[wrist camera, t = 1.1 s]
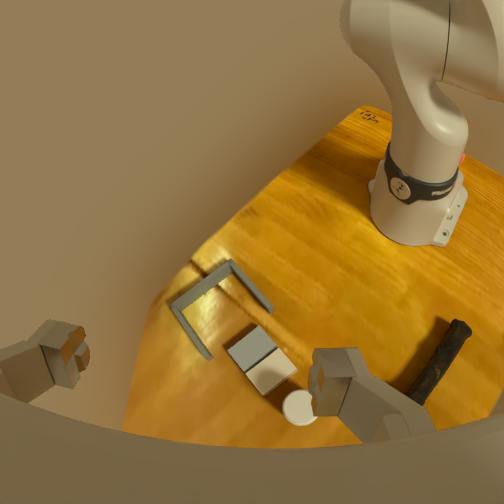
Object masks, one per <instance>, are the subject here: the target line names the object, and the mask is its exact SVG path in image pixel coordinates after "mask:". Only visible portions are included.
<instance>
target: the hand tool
mask: <svg viewBox="0 0 504 504" xmlns="http://www.w3.org/2000/svg"><path fill="white" fill-rule="evenodd" d="M471 335H472V330H471V328H470V327H469V326H468V325H467V324H466V323H465V322H464V321H460V320H457V319H454V320H452V322H451V324H450V329H449V330H448V331H447V332H446V336H445V337H444V339H443V340H442V342H441V343H440V344H439V346H438V347H437V349H436V351H435V353H434V355H433V356H432V357H431V359H430V361H429V362H428V364H427V365H426V367H425V368H424V370H423V371H422V373H421V374H420V376H419V377H418V378H417V380H416V381H415V382H414V384H413V385H412V386H411V388H410V389H409V391H408V392H407V393H406V394H405V396H407V397H408V398H410V399H412V400H413V401H415V402H416V403H418V404H419V405H421V406H423V404H424V403H425V400H426V399H427V397H428V396H429V394H430V393H431V392H432V390H433V389H434V387H435V386H436V385H437V383H438V382H439V381H440V379H441V378H442V377H443V375H444V374H445V372H446V371H447V369H448V368H449V366H450V365H451V363H452V362H453V360H454V358H455V357H456V355H457V354H458V352H459V350H460V349H461V347H462V345H463V343H464V342H465V340H466V339H467V338H468V337H470V336H471Z"/></svg>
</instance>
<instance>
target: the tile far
mask: <svg viewBox="0 0 504 504" xmlns="http://www.w3.org/2000/svg"><path fill="white" fill-rule="evenodd" d="M277 348H278V347H277V345H276V344H275V343H274V342H273V340H272V339H271V338H270V337H269V336H268V335H267V334H266V332H265V331H264V330H263V329H262V328H261V327H260V326H258V327H256V328H255V329H254V330H253V331H251V332H250V333H249V334H248V335H246V336H245V337H244V338H243V339H241V340H240V341H239V342H237V343H236V344H235V345H234V346H232V347H231V348H230V349H229V350H227V351H228V352H229V354H230V355H231V356H232V358H233V359H234V360H235V361H236V363H237V364H238V365H239V366H240V368H241V369H242V370H243V371H244V372H245V373H247V372H248V371H250V370H251V369H252V368H254V367H255V366H256V365H257V364H259V363H260V362H261V361H262V360H264V359H265V358H266V357H267V356H269V355H270V354H271V353H272V352H274V351H275V350H276V349H277Z"/></svg>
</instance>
